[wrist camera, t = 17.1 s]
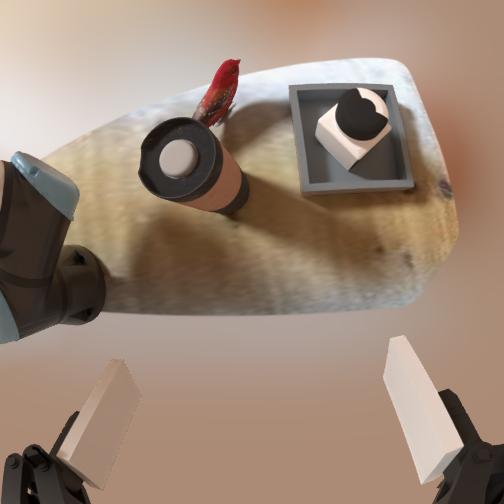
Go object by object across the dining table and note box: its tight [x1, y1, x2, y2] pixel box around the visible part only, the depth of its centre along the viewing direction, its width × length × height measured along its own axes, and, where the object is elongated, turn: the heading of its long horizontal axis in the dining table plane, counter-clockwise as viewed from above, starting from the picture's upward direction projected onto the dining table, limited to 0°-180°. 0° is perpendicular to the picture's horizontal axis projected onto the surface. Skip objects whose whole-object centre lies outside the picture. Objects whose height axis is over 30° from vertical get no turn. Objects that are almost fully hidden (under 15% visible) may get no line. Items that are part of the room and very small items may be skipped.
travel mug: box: [138, 117, 249, 214], centre depth 33 cm, size 8×8×20 cm
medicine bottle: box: [315, 88, 392, 171], centre depth 33 cm, size 7×7×12 cm
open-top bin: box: [289, 83, 414, 196], centre depth 37 cm, size 16×16×4 cm
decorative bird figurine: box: [192, 59, 240, 128], centre depth 37 cm, size 3×18×10 cm, turn 143°
